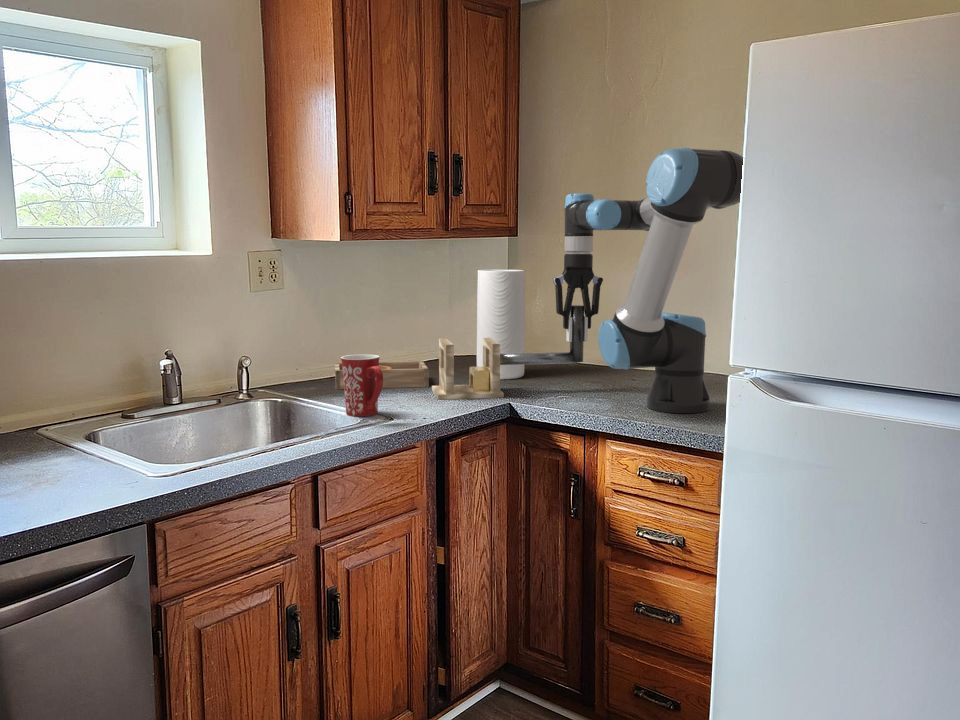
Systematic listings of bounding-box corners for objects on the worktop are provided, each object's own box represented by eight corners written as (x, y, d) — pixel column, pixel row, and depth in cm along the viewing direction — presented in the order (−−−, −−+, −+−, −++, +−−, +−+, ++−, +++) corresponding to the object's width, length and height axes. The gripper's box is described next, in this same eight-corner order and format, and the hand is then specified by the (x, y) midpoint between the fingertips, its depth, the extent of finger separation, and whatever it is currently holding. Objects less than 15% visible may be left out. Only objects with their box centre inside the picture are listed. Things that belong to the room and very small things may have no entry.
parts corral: (428, 386, 234) (428, 368, 233) (335, 389, 229) (335, 371, 229) (422, 377, 249) (422, 361, 248) (335, 380, 244) (334, 363, 244)
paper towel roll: (511, 381, 242) (512, 271, 238) (468, 377, 249) (468, 270, 245) (532, 374, 255) (533, 270, 251) (490, 371, 262) (490, 269, 257)
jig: (493, 388, 232) (493, 337, 230) (503, 397, 218) (504, 343, 216) (431, 390, 229) (431, 338, 227) (438, 399, 215) (438, 345, 213)
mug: (334, 412, 198) (333, 356, 196) (368, 408, 204) (367, 352, 202) (362, 421, 188) (361, 362, 186) (396, 416, 194) (395, 358, 192)
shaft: (580, 362, 229) (581, 305, 227) (584, 364, 226) (585, 306, 224) (487, 364, 225) (487, 306, 223) (490, 366, 221) (490, 307, 219)
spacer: (488, 391, 221) (488, 370, 220) (473, 391, 220) (473, 370, 219) (484, 386, 227) (484, 366, 227) (469, 386, 227) (469, 366, 226)
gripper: (604, 252, 228) (602, 338, 232) (544, 252, 225) (543, 340, 229) (613, 253, 221) (611, 342, 224) (551, 253, 218) (550, 343, 221)
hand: (576, 340), depth 226 cm, fingers closed on shaft, 4 cm apart
